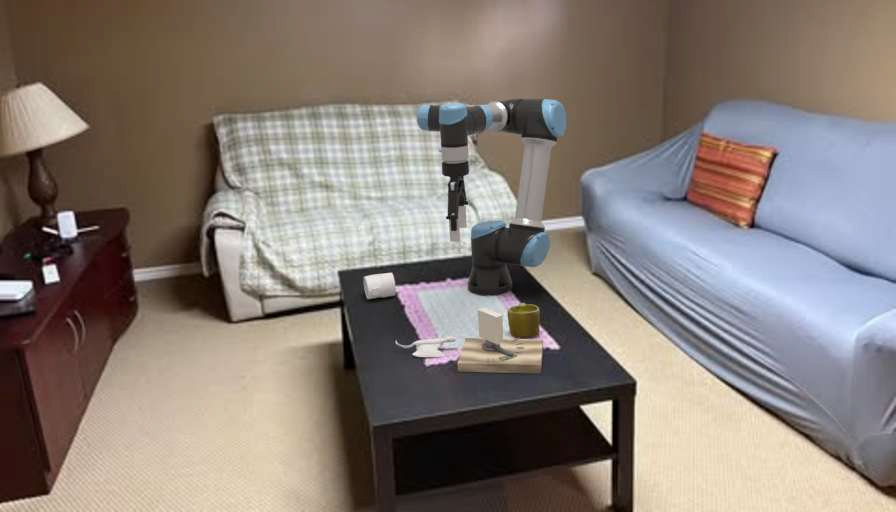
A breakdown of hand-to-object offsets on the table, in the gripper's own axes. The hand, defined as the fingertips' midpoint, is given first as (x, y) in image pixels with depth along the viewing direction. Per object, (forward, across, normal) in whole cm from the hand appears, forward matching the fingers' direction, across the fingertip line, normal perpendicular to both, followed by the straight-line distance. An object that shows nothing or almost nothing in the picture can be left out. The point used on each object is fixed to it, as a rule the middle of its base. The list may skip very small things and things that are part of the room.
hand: (458, 234), depth 220 cm
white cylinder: (+31, -30, -33) cm, 54 cm away
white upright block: (+28, +17, +12) cm, 35 cm away
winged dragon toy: (+31, +13, -9) cm, 35 cm away
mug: (+31, -2, +18) cm, 36 cm away
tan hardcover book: (+31, +17, +13) cm, 37 cm away
